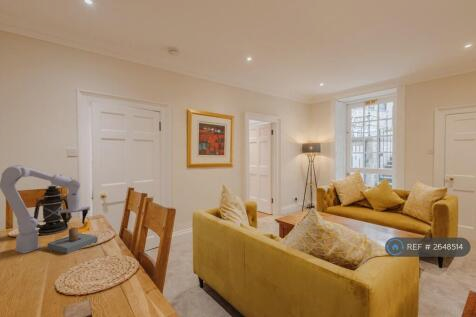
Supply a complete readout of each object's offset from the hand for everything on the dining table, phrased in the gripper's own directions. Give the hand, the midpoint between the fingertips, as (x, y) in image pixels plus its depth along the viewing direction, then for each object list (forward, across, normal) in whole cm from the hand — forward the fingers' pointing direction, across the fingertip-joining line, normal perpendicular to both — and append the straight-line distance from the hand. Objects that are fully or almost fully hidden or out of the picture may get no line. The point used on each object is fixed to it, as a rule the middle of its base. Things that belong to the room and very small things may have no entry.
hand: (74, 224), depth 128 cm
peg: (+9, -1, -6) cm, 11 cm away
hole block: (+9, -1, -6) cm, 11 cm away
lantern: (+10, -10, +30) cm, 33 cm away
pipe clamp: (+10, +3, +12) cm, 16 cm away
